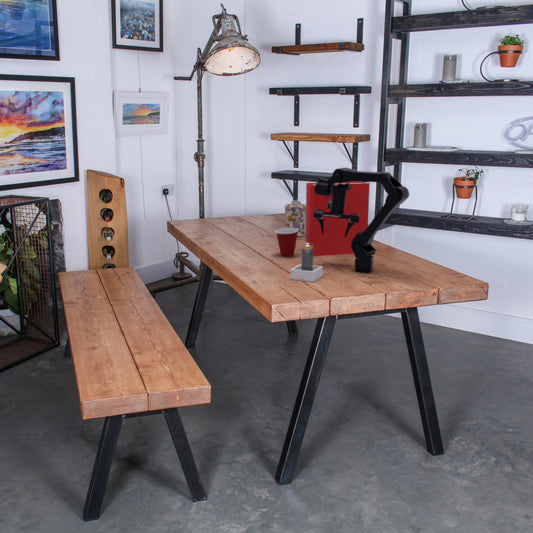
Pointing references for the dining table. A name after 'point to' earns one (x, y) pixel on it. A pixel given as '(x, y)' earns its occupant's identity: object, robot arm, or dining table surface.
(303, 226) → the decorative jar
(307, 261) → the battery cell
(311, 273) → the bin
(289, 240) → the plastic cup
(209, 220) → the dining table surface
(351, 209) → the book
